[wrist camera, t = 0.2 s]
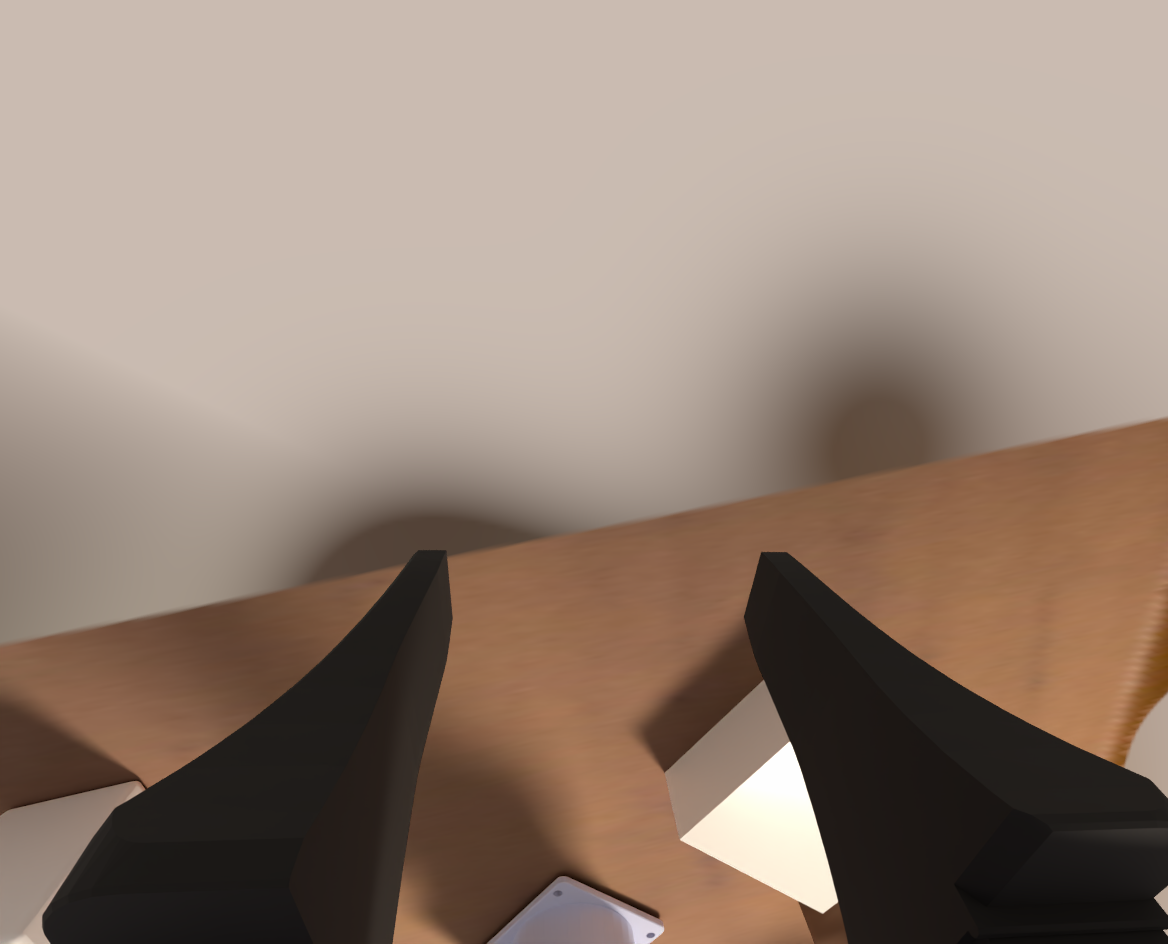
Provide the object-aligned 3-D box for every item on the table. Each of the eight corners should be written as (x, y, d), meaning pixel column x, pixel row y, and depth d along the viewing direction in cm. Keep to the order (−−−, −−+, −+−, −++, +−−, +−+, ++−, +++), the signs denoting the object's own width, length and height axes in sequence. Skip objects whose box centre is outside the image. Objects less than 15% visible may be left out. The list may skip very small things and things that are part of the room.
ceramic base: (791, 838, 33) (822, 913, 29) (663, 767, 30) (679, 839, 26) (922, 730, 30) (975, 797, 26) (795, 641, 28) (834, 702, 24)
